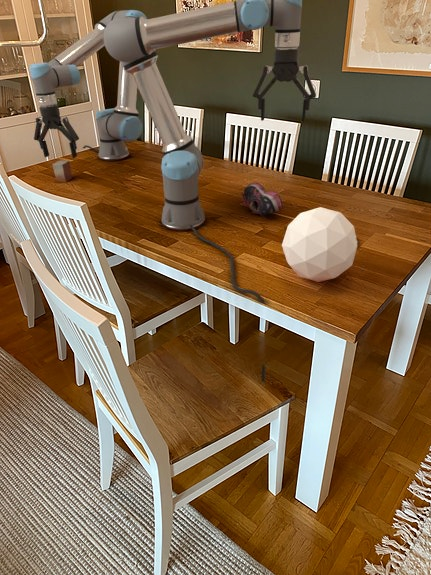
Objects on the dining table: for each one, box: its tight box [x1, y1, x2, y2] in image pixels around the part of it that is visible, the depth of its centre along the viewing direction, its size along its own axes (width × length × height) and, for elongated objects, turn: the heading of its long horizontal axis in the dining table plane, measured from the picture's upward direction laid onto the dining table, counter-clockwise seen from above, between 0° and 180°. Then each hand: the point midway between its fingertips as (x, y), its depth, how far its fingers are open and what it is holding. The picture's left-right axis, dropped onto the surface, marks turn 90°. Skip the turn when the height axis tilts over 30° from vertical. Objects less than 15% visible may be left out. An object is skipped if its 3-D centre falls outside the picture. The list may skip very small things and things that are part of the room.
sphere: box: [281, 206, 358, 283], centre depth 118 cm, size 19×20×20 cm
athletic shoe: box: [238, 182, 284, 217], centre depth 160 cm, size 11×22×12 cm
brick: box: [52, 159, 73, 183], centre depth 196 cm, size 6×5×8 cm
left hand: (60, 156), depth 193 cm, fingers open, 13 cm apart
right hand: (282, 120), depth 148 cm, fingers open, 13 cm apart
